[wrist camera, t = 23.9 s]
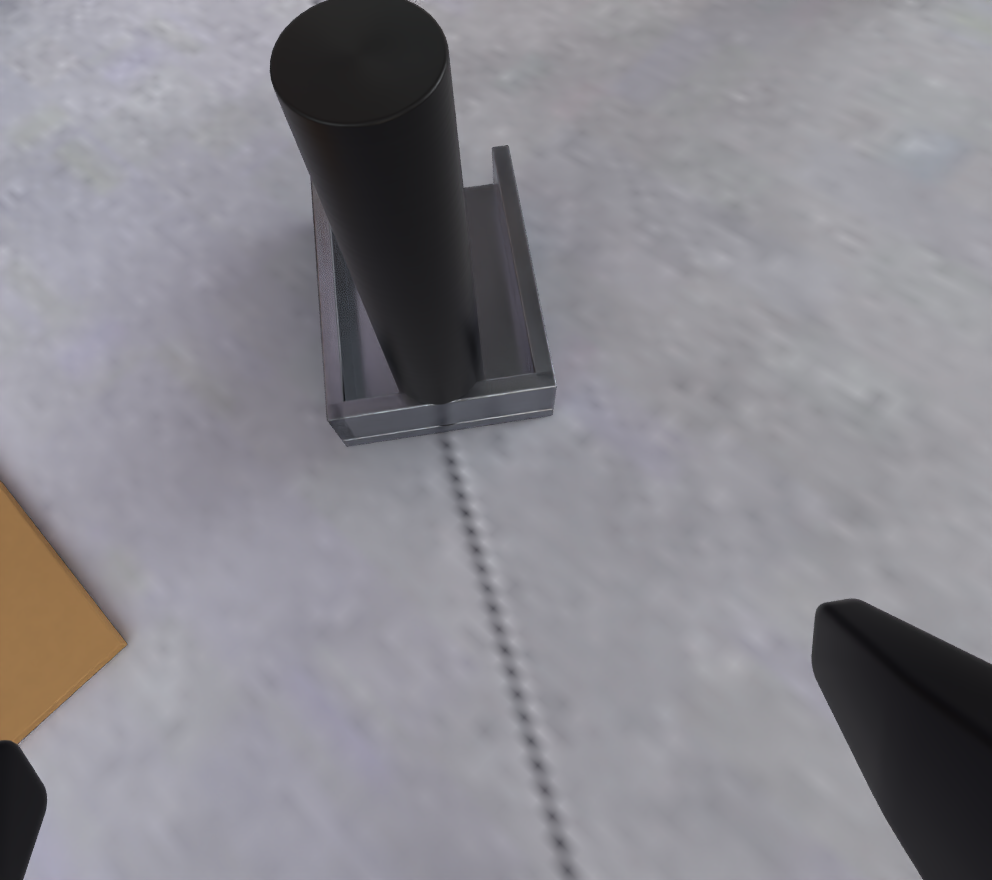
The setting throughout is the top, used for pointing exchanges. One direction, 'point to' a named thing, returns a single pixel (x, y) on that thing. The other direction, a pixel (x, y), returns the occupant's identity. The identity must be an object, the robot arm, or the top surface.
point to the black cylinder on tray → (407, 233)
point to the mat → (42, 626)
